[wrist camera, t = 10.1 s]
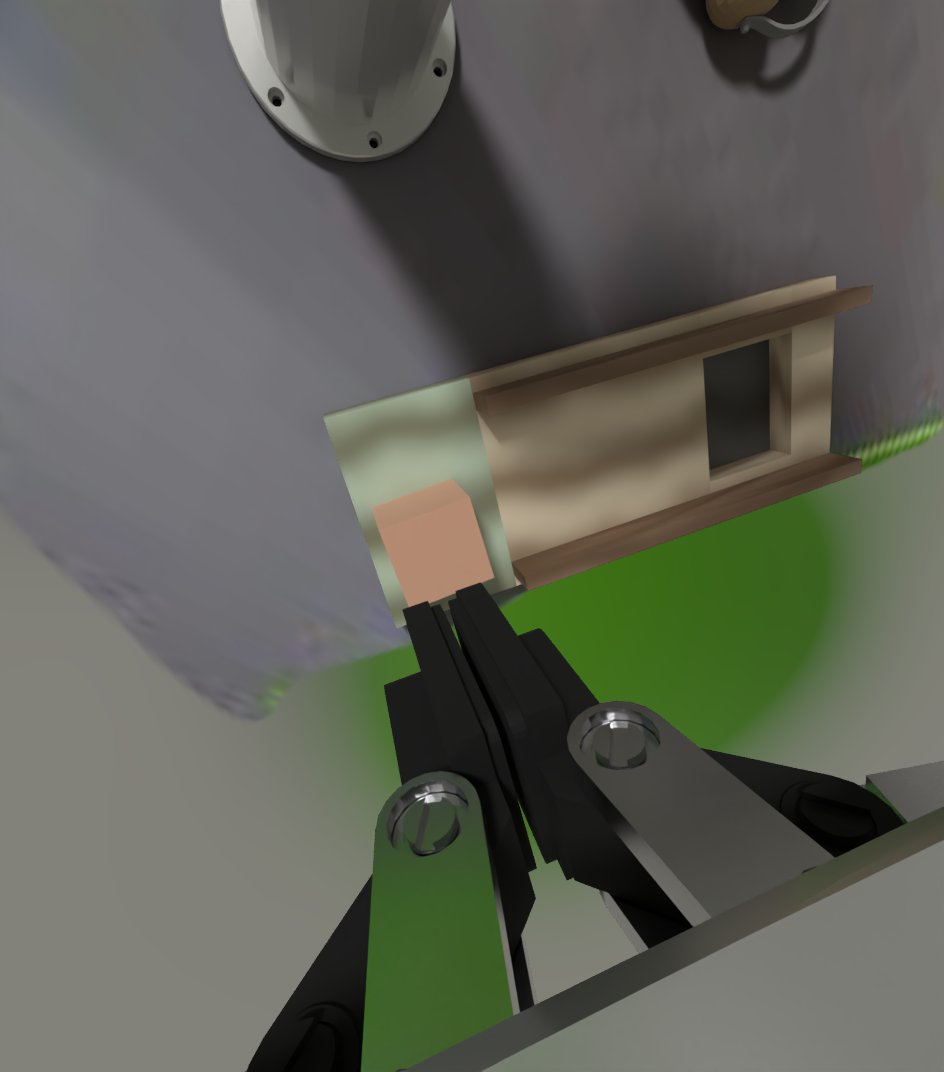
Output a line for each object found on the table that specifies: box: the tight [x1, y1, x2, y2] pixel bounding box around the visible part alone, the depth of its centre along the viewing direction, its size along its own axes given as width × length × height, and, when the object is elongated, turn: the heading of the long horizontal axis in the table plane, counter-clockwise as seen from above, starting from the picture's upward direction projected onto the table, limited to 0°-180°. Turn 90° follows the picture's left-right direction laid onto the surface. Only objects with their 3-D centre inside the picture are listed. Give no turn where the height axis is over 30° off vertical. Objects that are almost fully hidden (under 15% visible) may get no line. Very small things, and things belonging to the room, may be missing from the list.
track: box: [324, 276, 873, 628], centre depth 40 cm, size 16×40×6 cm, turn 104°
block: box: [372, 479, 494, 607], centre depth 36 cm, size 6×6×5 cm
